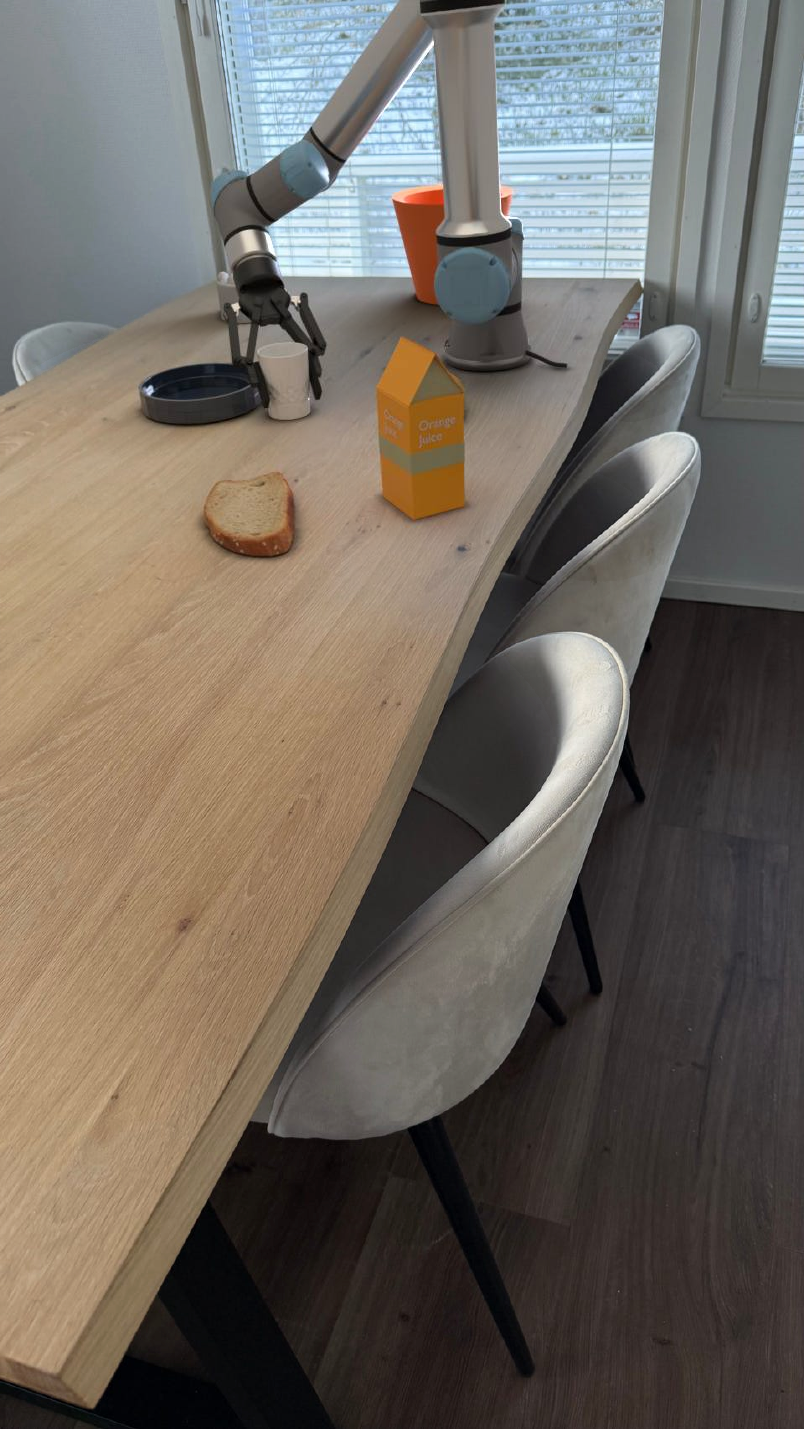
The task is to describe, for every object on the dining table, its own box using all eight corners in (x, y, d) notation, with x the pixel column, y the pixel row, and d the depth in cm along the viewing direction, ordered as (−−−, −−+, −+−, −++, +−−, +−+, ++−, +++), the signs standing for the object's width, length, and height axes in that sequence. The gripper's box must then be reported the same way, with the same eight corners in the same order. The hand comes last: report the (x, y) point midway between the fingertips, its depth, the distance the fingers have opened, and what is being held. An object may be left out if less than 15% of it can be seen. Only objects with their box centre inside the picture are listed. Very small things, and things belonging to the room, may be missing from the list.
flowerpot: (516, 307, 205) (518, 201, 193) (395, 313, 206) (390, 207, 194) (507, 279, 225) (509, 180, 213) (397, 284, 226) (392, 187, 214)
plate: (286, 400, 165) (283, 376, 163) (191, 435, 154) (186, 409, 151) (213, 378, 176) (210, 355, 174) (120, 409, 165) (114, 385, 163)
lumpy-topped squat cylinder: (271, 305, 216) (266, 262, 211) (269, 321, 206) (263, 276, 200) (223, 308, 216) (217, 266, 211) (219, 325, 205) (212, 280, 200)
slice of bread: (271, 563, 118) (267, 534, 115) (159, 533, 126) (153, 505, 124) (356, 505, 130) (354, 478, 127) (249, 481, 138) (245, 456, 136)
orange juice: (412, 520, 125) (405, 358, 114) (381, 496, 132) (371, 341, 120) (466, 506, 128) (464, 346, 116) (433, 483, 134) (428, 330, 123)
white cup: (265, 406, 163) (257, 344, 157) (314, 403, 163) (307, 340, 157) (264, 423, 156) (256, 359, 151) (314, 419, 157) (308, 355, 151)
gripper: (313, 275, 164) (351, 401, 162) (190, 292, 159) (227, 422, 156) (320, 246, 157) (359, 377, 154) (191, 262, 152) (229, 398, 149)
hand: (293, 400), depth 155 cm, fingers closed on white cup, 8 cm apart
